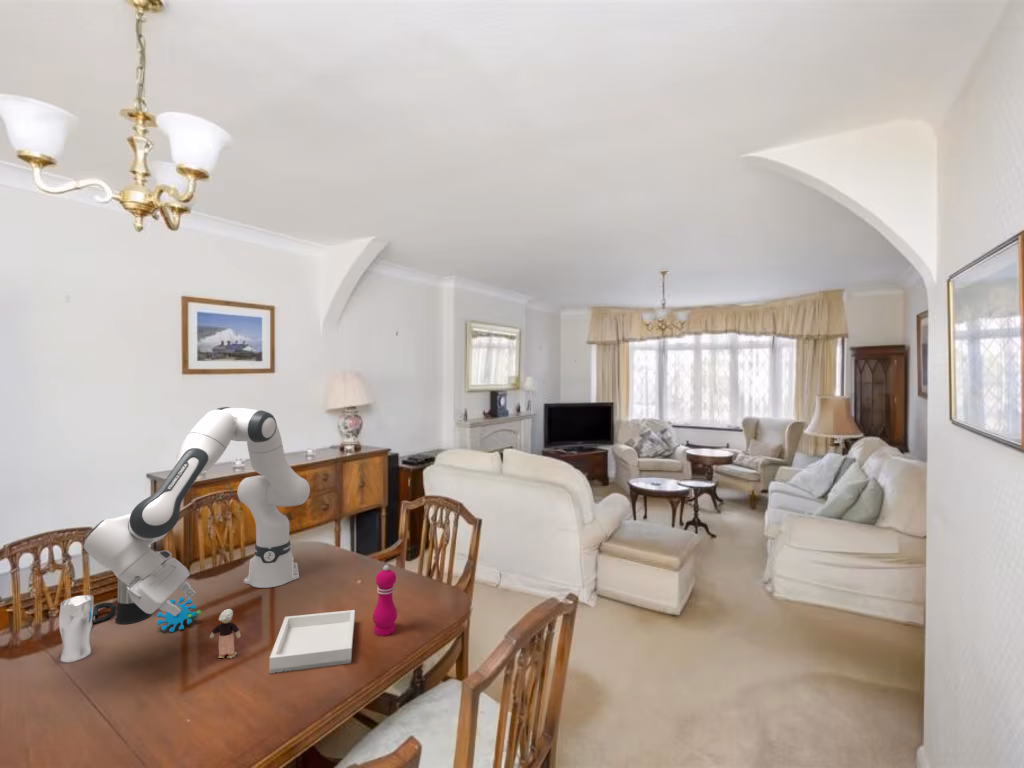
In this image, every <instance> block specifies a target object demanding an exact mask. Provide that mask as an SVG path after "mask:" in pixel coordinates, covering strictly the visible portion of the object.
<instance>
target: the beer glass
mask: <svg viewBox="0 0 1024 768" xmlns="http://www.w3.org/2000/svg"><path fill="white" fill-rule="evenodd" d="M94 603H95V602H94V595H91V594H84V595H83V594H81V595H77V596H73V597H69V598H67V599H64V600H63V601H61V602H60V607H59V614H58V615H59V616H58V626H59V627H58V628H59V632H60V637H61V641H62V642H61V643H62V652H61V656H60V662H61V663H73V662H77V661H80V660H82V659H85V658H87V657H88V656H89V655H91V653H92V648H91V643H90V637H91V631H92V627H93V624H94V623H93V619H94V606H95V604H94Z"/></svg>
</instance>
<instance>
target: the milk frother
mask: <svg viewBox="0 0 1024 768" xmlns="http://www.w3.org/2000/svg"><path fill="white" fill-rule="evenodd" d="M129 589H130V588H129ZM127 591H128V590H127V585H126V584H125V583H124V582H122V581H121V580H120V579H119V578H117V593H116V594H117V600H116V601H117V602H116V603H117V604H115V603H112V602H102V603H99V604H96V605H94V619H93V624H98V623H101V622H105V621H107V620H108V619H110V618H112V617H113V616H114V615H115V613H116V615H115V616H116V618H115V620H114V622H115V623H117V624H120V625H126V624H128V625H130V624H134V623H137V622H138V623H139V622H140V621H144V620H146V619H147V618H150V617H151V616H152V614H153V613H152V614H148V613H145V612H144V611H143V610H142V609H140V608H139V607H138V606H137V605H136V604H135V603H134V602H133V601H132V600H131V598H130V596H129V593H128V592H127ZM103 608H107V609H110V612H109V613H107V614H106V615H104V616H102V617H99V610H100V609H103Z"/></svg>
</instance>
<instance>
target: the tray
mask: <svg viewBox="0 0 1024 768" xmlns="http://www.w3.org/2000/svg"><path fill="white" fill-rule="evenodd" d="M355 613H356V612H355V609H352V610H351V609H350V610H341V611H331V612H319V613H311V614H301V615H300V614H299V615H291V616H289V615H288V616H284V618H283V621H282V623H281V627H280V630H279V633H278V635H277V637H276V639H275V643H274V645H273V647H272V650H271V653H270V656H269V660H268V661H269V662H268V663H269V665H268V666H269V667H268V674H269V673H270V674H276V673H275V672H277V673H284V672H285V673H286V672H292V670H293V671H298V670H307V669H316V668H323V667H330V666H331V667H332V666H338V665H345V664H351V663H352V657H353V643H354V633H355V632H354V631H355V621H356V619H355V616H356V614H355ZM283 671H284V672H283Z"/></svg>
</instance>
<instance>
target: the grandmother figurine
mask: <svg viewBox="0 0 1024 768" xmlns="http://www.w3.org/2000/svg"><path fill="white" fill-rule="evenodd" d="M233 615H234V611H233V610H232V609H231V608H227V609H224V610H223V611H221V613H220V614H219V617H218V621H220V622H221V623H219V624H217V625H216V626H215V627H214V628H212V630H211V633H210V635H209V638H210V639H213V638H214V637H215V635H216V634H219V636H218V657H217V658H224V657H225V656H226V655H227V656H226V657H225V658H231V659H233V658H234V657H236V656H237V655H238V652H237V651H235V637H234V636H236V638H237V639H240V638H242V635H241V632H240V629H239V628H238V626H237V625H236V624H235V623H234V622H231V621H232V620H233ZM234 634H235V635H234ZM236 654H237V655H236ZM235 655H236V656H235ZM232 657H233V658H232ZM225 658H224V659H225Z"/></svg>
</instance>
